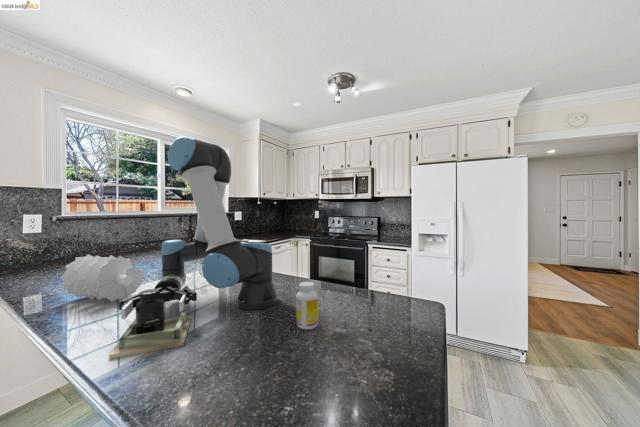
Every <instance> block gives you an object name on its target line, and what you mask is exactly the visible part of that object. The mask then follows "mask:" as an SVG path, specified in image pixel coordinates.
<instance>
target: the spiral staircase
mask: <svg viewBox="0 0 640 427" xmlns="http://www.w3.org/2000/svg"><path fill="white" fill-rule="evenodd" d="M74 259H75V260H74V261H71V262H70V263H68V264H67V265H65V267H64V268H65V269H66V270H65V271H64V272H63V274H62V275H61V277H60V280H63V284H62V285H63V286H62V291H63V290H64V291H65V290H66V293H67V296H68V295H71V294H72V295H74V296H76V297H77V298H80V299H81V298H82V297H83V296H84V297H85V298H88V299H90V300H92V301H93V300H94V299H95V298H96V299H98V300H99V301H100V300H102V299H107V300H109V301H111V302H114V301H115V300H123V299H126V298H128V297H130V296H132V295H133V294H134V293H135V294H136V293H137V290H138V289H139V287H140V286H141V285H142V284H143V283H144V278H145V274H146V270H145V269H131V268H133V267H134V266H133V263H132V261H131V259H130V258H126V257H123V256H122V255H119V256H118V257H117V258H116V257H115V256H114V255H112V254H110V255H109V256H108V257H107V256H105V257H102V256H99V255H96V254H95V256H93V255H91V254H89V253H88V254H86V255H85V256H79V257H77V256H76V257H75V258H74Z"/></svg>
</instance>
